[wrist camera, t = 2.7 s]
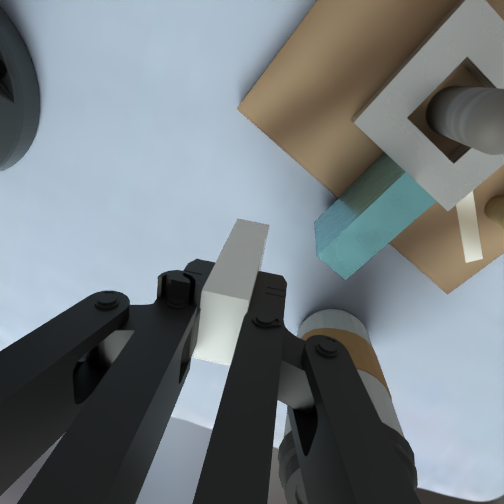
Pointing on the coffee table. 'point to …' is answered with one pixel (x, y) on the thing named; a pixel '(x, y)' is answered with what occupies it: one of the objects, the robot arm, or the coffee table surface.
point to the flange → (413, 142)
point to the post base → (423, 117)
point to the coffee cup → (372, 376)
